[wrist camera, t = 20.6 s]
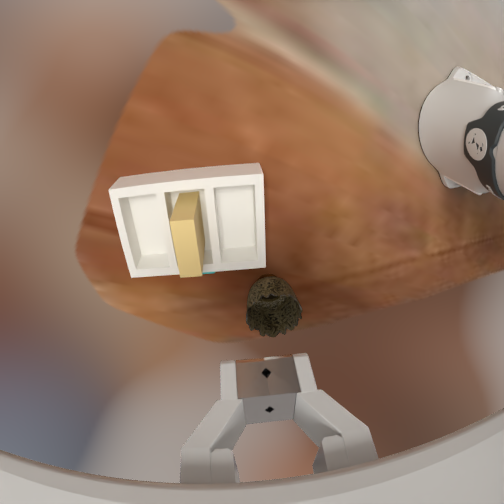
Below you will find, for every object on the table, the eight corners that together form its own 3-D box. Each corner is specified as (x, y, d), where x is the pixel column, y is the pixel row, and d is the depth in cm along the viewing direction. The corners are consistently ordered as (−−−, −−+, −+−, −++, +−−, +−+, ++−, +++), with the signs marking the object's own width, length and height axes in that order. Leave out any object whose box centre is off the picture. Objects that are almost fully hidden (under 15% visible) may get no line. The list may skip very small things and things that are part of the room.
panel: (199, 191, 38) (193, 219, 32) (205, 240, 42) (202, 276, 35) (179, 193, 38) (169, 221, 31) (186, 242, 42) (180, 277, 35)
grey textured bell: (301, 278, 48) (314, 313, 41) (268, 307, 50) (275, 344, 44) (266, 252, 45) (273, 286, 38) (232, 285, 48) (234, 322, 41)
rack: (259, 162, 38) (263, 173, 34) (262, 252, 45) (266, 270, 41) (119, 177, 37) (108, 189, 34) (139, 262, 44) (132, 280, 40)
